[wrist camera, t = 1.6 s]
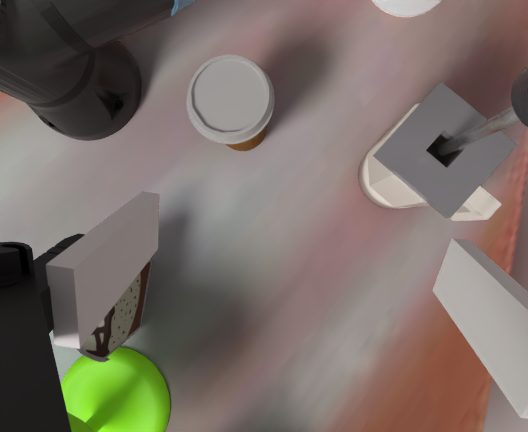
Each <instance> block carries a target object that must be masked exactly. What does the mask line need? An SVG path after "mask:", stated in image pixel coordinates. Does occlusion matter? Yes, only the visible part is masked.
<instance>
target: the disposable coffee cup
mask: <svg viewBox="0 0 528 432" xmlns="http://www.w3.org/2000/svg"><path fill="white" fill-rule="evenodd" d="M274 103H275V94H274V88H273V85H272V82H271V80H270V78H269V76H268V75H267V73H266V72H265V71H264V70H263V69H262V68H261V67H260V66H259V65H258V64H256V63H255V62H253V61H251V60H249V59H247V58H245V57H242V56H238V55H222V56H218V57H215V58H213V59H211V60H209V61H207V62H205V63H204V64H203V65H202V66H201V67H200V68H199V69H198V70H197V71H196V72H195V74H194V76H193V77H192V79H191V81H190V84H189V87H188V92H187V98H186V105H187V111H188V115H189V117H190V120H191V122H192V123H193V125H194V127H195V128H196V129H197V130H198V131H199V132H200V133H201V134H202V135H203V136H205V137H206V138H208V139H210V140H212V141H214V142H217V143H222V144H225V145H227V146H229V147H231V148H233V149H235V150H238V151H247V150H251V149H253V148H255V147H256V146H258V145H259V144H260V143H261V141H262V140H263V138H264V136H265V132H266V127H267V123H268V122H269V120H270V118H271V116H272V112H273V109H274Z"/></svg>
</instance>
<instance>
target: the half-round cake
mask: <svg viewBox="0 0 528 432" xmlns="http://www.w3.org/2000/svg"><path fill="white" fill-rule="evenodd" d="M151 266H152V260H149V261H148V263H147V264H146V265H145V266H144V268H143V269H142V270H141V271H140V273H139V274H138V275H137V277H136V278H135V279H134V280H133V282H132V283H131V284H130V286H129V287H128V288H127V289H126V291H125V292H124V293H123V294H122V296H121V297H120V298H119V300H118V301H117V302H116V303H115V305H114V306H113V307H112V309H111V310H110V311H109V312H108V314H107V315H106V316H105V318H104V319H103V320H102V321H101V323H100V324H99V325H98V326H97V328H96V329H95V330H94V332H93V333H92V334H91V335H90V337H89V338H88V339H87V341H86V342H85V343H84V344H83V346H82V347H81V348H80V349H77V348H76V349H77V350H78V351H79V352H80V353H81V354H83V355H84V356H86V357H88V358H90V359H92V360H94V361H97V362H103V363H104V362H106V361H109V360H110V359H109V358H107V357H108V356H109V355H110V354H112V353H113V352H114V351H115V350H116V349H117V348H118V347H119V346H121V345H122V344H123V343H124V342H125V341H126V340H127V339H128V338H130V337H131V336H132V335H133V334H134V333H135V332H136V331H137V330H139V329H140V328H141V325H142V319H143V313H144V307H145V301H146V295H147V290H148V284H149V278H150V272H151Z"/></svg>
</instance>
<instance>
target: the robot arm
mask: <svg viewBox="0 0 528 432" xmlns="http://www.w3.org/2000/svg"><path fill="white" fill-rule="evenodd" d="M195 1H196V0H0V91H1V92H3V93H5V94H8V95H10V96H12V97H14V98H17V99H19V100H21V101H23V102H25V103H26V104H27V105H28V106H29V107H30V108H31V109H32V110H33V111H34V112H35V113H36V114H37V115H38V117H39V118H40V119H41V120H42V121H43V122H44V123H45V124H46V125H48V126H49V127H50V128H52V129H53V130H55V131H57V132H59V133H61V134H63V135H66V136H68V137H71V138H74V139H78V140H87V141H89V140H98V139H102V138H105V137H108V136H110V135H112V134H113V133H115V132H117V131H118V130H119V129H121V128H122V127H123V126H124V125H125V124H126V123H127V122H128V121H129V120H130V118H131V117H132V115H133V114H134V112H135V110H136V108H137V105H138V102H139V99H140V94H141V77H140V72H139V69H138V66H137V64H136V62H135V60H134V58H133V57H132V55H131V54H130V53H129V52H128V50H127V49H126V48H125V47H124V46H123V45H122V44H121V43H120V42H119V41H118V40H119V39H121V38H123V37H126V36H128V35H130V34H132V33H135V32H137V31H139V30H141V29H143V28H146V27H148V26H150V25H152V24H154V23H157V22H159V21H161V20H163V19H165V18H168V17H169V18H170V17H172V16H174V15H175V14H176V12H177V11H179V10H181V9H183V8H184V7H186V6H188V5H190V4H192V3H193V2H195ZM158 234H159V194H155V193H148V192H141V193H140V194H139V195H138V196H136V197H135V198H134V199H132V200H131V201H130V202H128V203H127V204H126V205H124V206H123V207H122V208H120V209H119V210H118V211H116V212H115V213H114V214H112V215H111V216H110V217H108V218H107V219H106V220H104V221H103V222H102V223H100V224H99V225H98V226H96V227H95V228H94V229H92V230H91V231H90V232H88V233H87V234H86V235H84V234H76V235H74V236H71V237H68V238H65V239H64V240H62V241H61V242H59V243H58V244H56V245H55V247H52V248H51V249H49V250H48V251H47V252H46V253H44V254H42V255H41V256H39V257H38V258H36V259H35V260H34V261H33V253H32V248H31V247H30V246H29V245H27V244H24V243H20V242H1V243H0V432H72V431H71V427H70V422H69V418H68V414H67V409H66V405H65V401H64V397H63V392H62V388H61V384H60V379H59V375H58V371H57V366H56V362H55V358H54V353H53V349H52V345H51V340H50V336H49V333H50V332H51V331H52V330H53V334H54V343H55V345H58V346H65V347H71V348H77V349H80V348H81V347H82V346H83V344H84V343H85V342H86V341H87V339H88V338H89V337H90V335H91V334H92V333H93V332H94V330H95V329H96V328H97V326H98V325H99V324H100V323H101V321H102V320H103V319H104V318H105V316H106V315H107V314H108V312H109V311H110V310H111V309H112V307H113V306H114V305H115V303H116V302H117V301H118V300H119V298H120V297H121V296H122V294H123V293H124V292H125V291H126V289H127V288H128V287H129V286H130V284H131V283H132V282H133V280H134V279H135V278H136V277H137V275H138V274H139V273H140V271H141V270H142V269H143V268H144V266H145V265H146V264H147V263H148V261H149V260H150V259H151V257H152V256H153V255H154V254H155V252H156V251H157V250H158ZM433 292H434V293H435V295H436V296H437V298H438V299H439V300H440V302H441V303H442V305H443V306H444V308H445V309H446V311H447V312H448V314H449V315H450V316H451V318H452V319H453V321H454V322H455V324H456V325H457V327H458V328H459V329H460V331H461V332H462V334H463V335H464V337H465V338H466V340H467V341H468V343H469V344H470V345H471V347H472V348H473V350H474V351H475V353H476V354H477V356H478V357H479V358H480V360H481V361H482V363H483V364H484V366H485V367H486V369H487V370H488V372H489V373H490V374H491V376H492V377H493V379H494V380H495V381H496V383H497V384H498V386H499V387H500V389H501V390H502V392H503V393H504V395H505V396H506V398H507V399H508V401H509V402H510V403H511V405H512V406H513V407H514V409H515V411H516V412H517V414H518V415H519V416H520V418H527V419H528V292H527V291H526V290H525V289H524V288H523V287H522V286H521V285H519V284H518V283H517V282H516V281H515V280H514V279H513V278H511V277H510V276H509V275H508V274H507V273H506V272H505V271H503V270H502V269H501V268H500V267H499V266H498V265H497V264H495V263H494V262H493V261H492V260H491V259H490V258H489V257H488V256H486V255H485V254H484V253H483V252H482V251H481V250H480V249H478V248H477V247H476V246H475V245H474V244H473V243H472V242H470V241H469V240H463V239H456V238H452V239H451V242H450V245H449V247H448V250H447V253H446V256H445V258H444V261H443V264H442V266H441V269H440V272H439V274H438V277H437V280H436V283H435V285H434V288H433Z"/></svg>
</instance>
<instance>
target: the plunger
mask: <svg viewBox="0 0 528 432" xmlns="http://www.w3.org/2000/svg"><path fill="white" fill-rule="evenodd" d="M511 101H512V106H513V107H511V108H509V109H507V110H505V111H503V112H501V113H500V114H498V115H496V116H494V117H492V118H490V119H488V120H487V121H485V122H483V123H481V124H479V125H477V126H475V127H474V128H472V129H470V130H468V131H466V132H464V133H462V134H461V135H459V136H457V137H455V138H453V139H451V140H449V141H448V142H446V143H444V144H442V145H440V146H439V147H438V149H437V152H438V154H439V155H441V156H445V155H447V154H449V153H452V152H454V151H456V150H458V149H460V148H463V147H465V146H467V145H469V144H471V143H473V142H476V141H478V140H480V139H482V138H484V137H487V136H489V135H491V134H493V133H495V132H497V131H500V130H502V129H504V128H506V127H508V126H511V125H513V124H515V123H517V122H519V121H521V122H522V123H523V124H524V125H526V126H527V127H528V67H526V68H525V69H524V70H523V71H522V72H521V73H520V74H519V75H518V77H517V78H516V80H515V82H514V84H513V88H512V93H511Z"/></svg>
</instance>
